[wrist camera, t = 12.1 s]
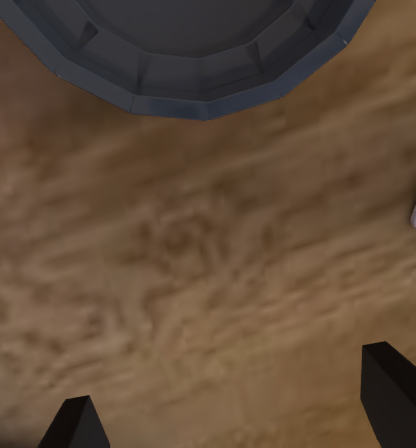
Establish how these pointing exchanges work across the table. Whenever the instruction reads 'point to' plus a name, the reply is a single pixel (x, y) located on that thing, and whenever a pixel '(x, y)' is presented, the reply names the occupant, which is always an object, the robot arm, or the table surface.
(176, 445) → the table surface
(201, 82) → the dark blue round dish
